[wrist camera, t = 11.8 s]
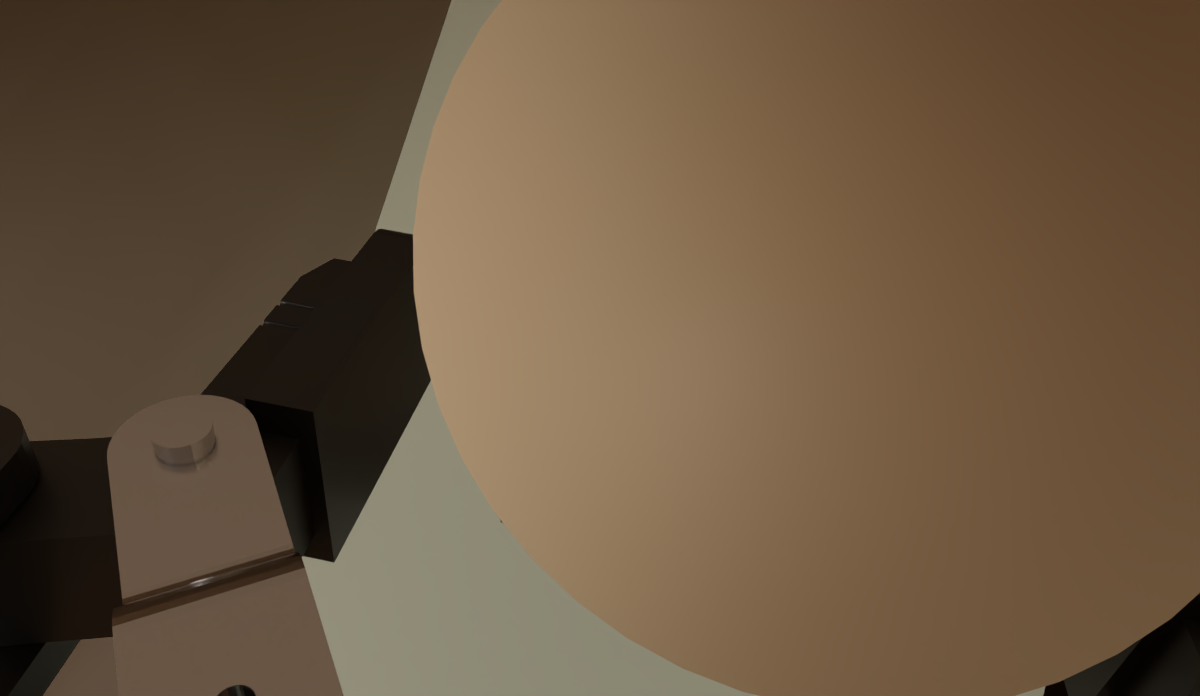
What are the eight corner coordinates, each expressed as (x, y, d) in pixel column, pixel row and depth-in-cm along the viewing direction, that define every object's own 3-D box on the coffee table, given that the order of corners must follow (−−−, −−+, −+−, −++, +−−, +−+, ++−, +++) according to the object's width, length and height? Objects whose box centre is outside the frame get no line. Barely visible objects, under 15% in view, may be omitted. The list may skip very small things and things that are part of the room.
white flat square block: (303, 637, 19) (229, 672, 16) (488, 63, 21) (457, -17, 18) (927, 839, 18) (993, 924, 15) (1071, 210, 20) (1160, 155, 16)
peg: (575, 491, 20) (266, 566, 4) (626, 314, 20) (543, -271, 4) (757, 545, 19) (1260, 882, 3) (805, 363, 20) (1436, -81, 4)
